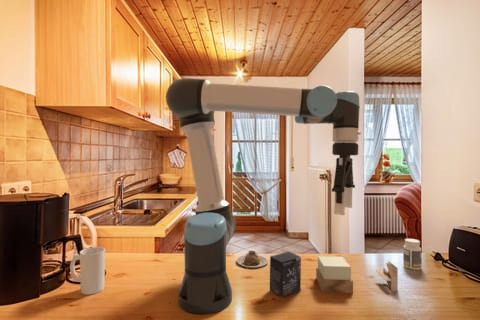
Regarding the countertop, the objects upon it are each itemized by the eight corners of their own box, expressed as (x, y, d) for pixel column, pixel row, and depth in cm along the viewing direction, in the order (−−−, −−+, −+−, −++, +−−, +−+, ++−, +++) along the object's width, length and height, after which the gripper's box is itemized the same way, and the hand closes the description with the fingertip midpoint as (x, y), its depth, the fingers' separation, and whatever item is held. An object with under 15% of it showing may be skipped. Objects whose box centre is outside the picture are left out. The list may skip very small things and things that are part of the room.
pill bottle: (421, 266, 100) (421, 239, 100) (421, 271, 95) (422, 243, 95) (403, 262, 103) (403, 237, 103) (403, 268, 98) (403, 241, 98)
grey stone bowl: (230, 263, 103) (230, 251, 103) (252, 255, 112) (252, 244, 112) (252, 273, 95) (252, 260, 95) (274, 263, 103) (274, 251, 103)
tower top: (323, 279, 81) (323, 266, 81) (317, 268, 89) (317, 256, 89) (350, 280, 81) (350, 266, 80) (342, 268, 89) (342, 256, 88)
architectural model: (386, 291, 82) (386, 267, 82) (376, 281, 89) (376, 258, 88) (397, 292, 81) (398, 268, 81) (387, 281, 88) (387, 259, 88)
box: (281, 298, 77) (282, 261, 77) (269, 290, 81) (269, 255, 81) (301, 291, 81) (301, 256, 81) (288, 283, 86) (288, 250, 86)
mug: (109, 284, 85) (109, 246, 85) (98, 295, 78) (98, 254, 78) (77, 284, 85) (76, 246, 85) (63, 295, 78) (63, 254, 78)
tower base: (322, 293, 81) (322, 279, 81) (316, 279, 90) (316, 267, 90) (353, 294, 80) (353, 281, 80) (343, 280, 89) (343, 268, 89)
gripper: (351, 140, 71) (349, 219, 71) (363, 144, 92) (361, 205, 93) (323, 140, 75) (321, 216, 75) (340, 144, 96) (339, 203, 97)
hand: (343, 210), depth 84 cm, fingers open, 13 cm apart
